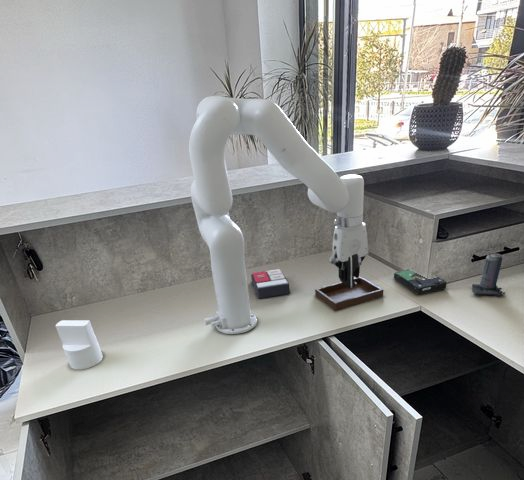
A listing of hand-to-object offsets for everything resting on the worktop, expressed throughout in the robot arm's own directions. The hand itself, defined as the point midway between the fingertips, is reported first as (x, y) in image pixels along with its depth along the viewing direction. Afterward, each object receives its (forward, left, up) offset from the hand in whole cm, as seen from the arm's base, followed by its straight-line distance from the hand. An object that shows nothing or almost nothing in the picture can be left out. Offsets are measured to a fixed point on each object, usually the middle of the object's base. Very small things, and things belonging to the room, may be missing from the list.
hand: (349, 277), depth 138 cm
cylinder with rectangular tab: (-82, +7, -7) cm, 83 cm away
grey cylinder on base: (+36, -21, -7) cm, 42 cm away
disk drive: (+24, -5, -7) cm, 25 cm away
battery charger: (0, 0, -2) cm, 2 cm away
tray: (0, 0, -7) cm, 7 cm away
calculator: (-19, +21, -7) cm, 29 cm away
